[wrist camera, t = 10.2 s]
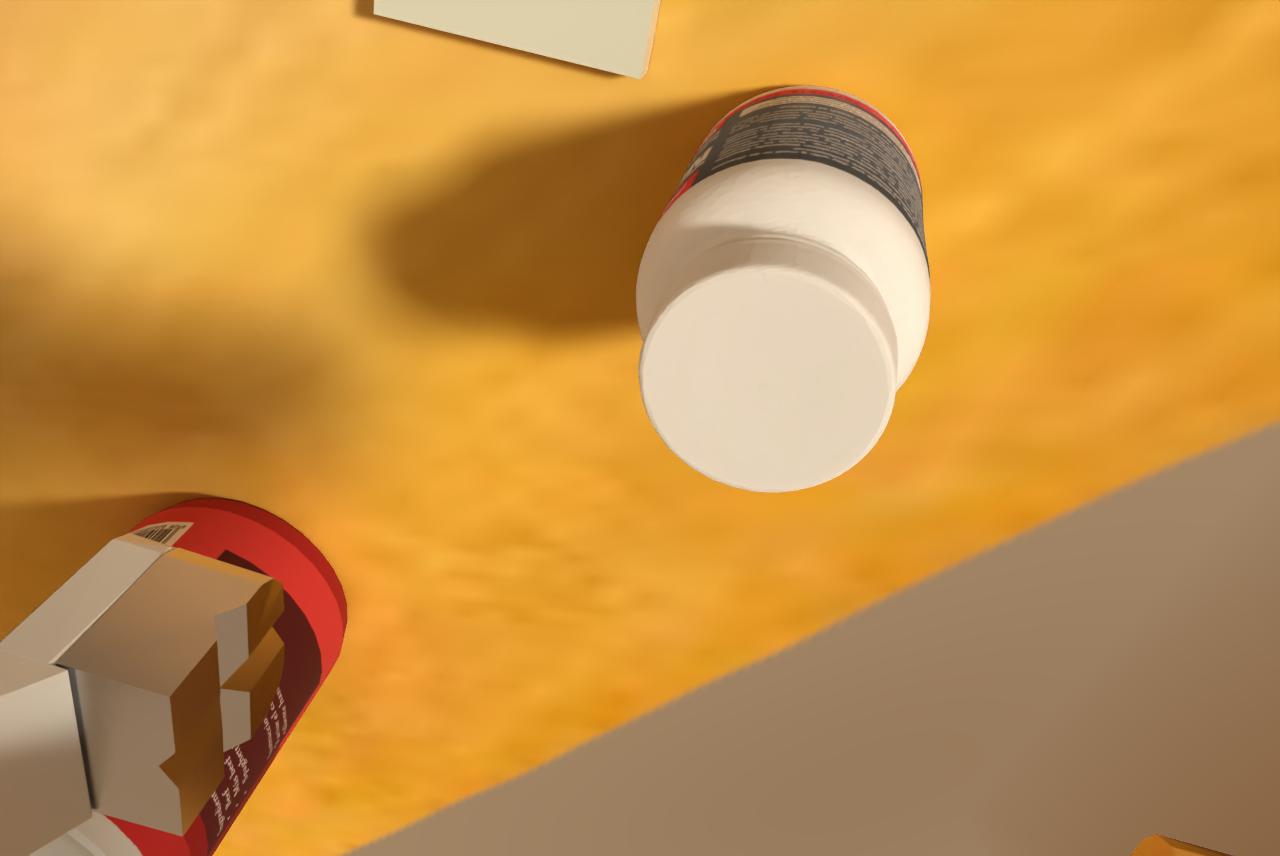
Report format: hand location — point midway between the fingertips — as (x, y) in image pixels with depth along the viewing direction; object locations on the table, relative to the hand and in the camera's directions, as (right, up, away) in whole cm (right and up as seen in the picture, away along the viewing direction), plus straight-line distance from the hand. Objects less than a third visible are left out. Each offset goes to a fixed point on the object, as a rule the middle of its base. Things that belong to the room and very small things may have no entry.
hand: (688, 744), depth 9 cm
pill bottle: (+3, +8, +14) cm, 16 cm away
